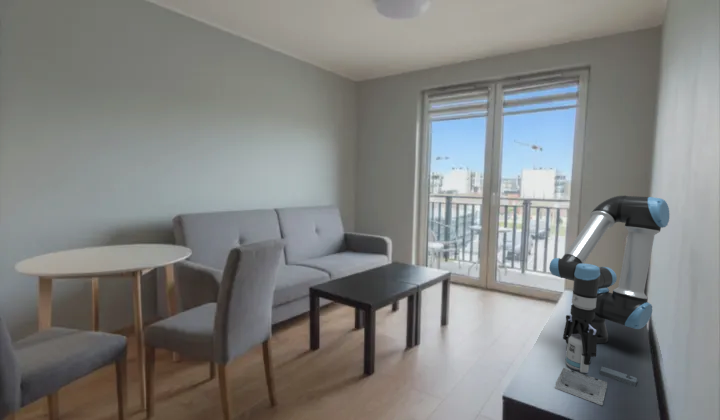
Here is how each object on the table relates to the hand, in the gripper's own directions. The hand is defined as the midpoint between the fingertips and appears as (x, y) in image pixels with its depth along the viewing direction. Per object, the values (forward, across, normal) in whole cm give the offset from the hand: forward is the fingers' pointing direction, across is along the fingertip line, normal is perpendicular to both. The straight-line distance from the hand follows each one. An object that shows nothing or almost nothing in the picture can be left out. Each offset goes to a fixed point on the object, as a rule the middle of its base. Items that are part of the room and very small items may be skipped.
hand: (576, 366), depth 131 cm
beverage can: (+1, 0, 0) cm, 1 cm away
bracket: (+1, +7, +11) cm, 13 cm away
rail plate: (+1, +13, -8) cm, 15 cm away
